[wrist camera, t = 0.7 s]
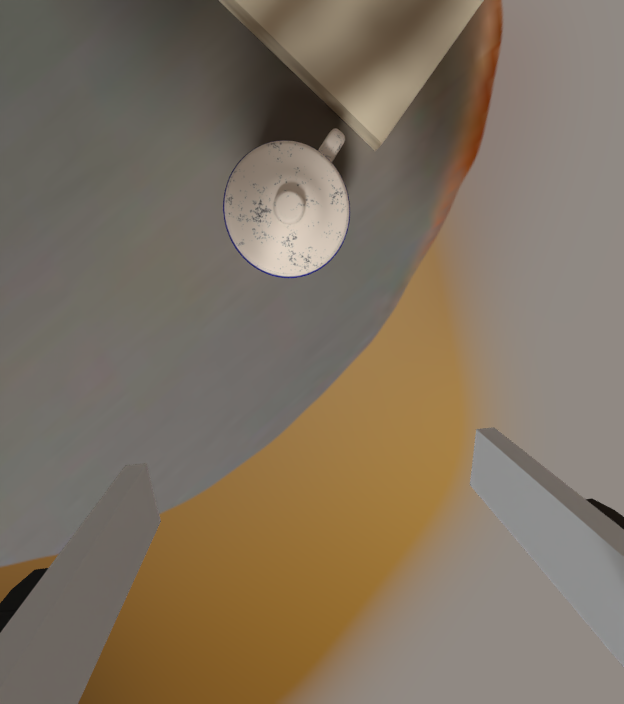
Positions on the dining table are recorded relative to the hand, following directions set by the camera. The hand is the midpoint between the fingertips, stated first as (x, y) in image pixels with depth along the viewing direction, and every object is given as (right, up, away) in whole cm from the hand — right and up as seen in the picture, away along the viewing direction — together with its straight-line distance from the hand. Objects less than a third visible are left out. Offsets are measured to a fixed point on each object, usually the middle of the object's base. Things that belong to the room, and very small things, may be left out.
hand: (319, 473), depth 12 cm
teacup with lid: (-2, +19, +18) cm, 26 cm away
